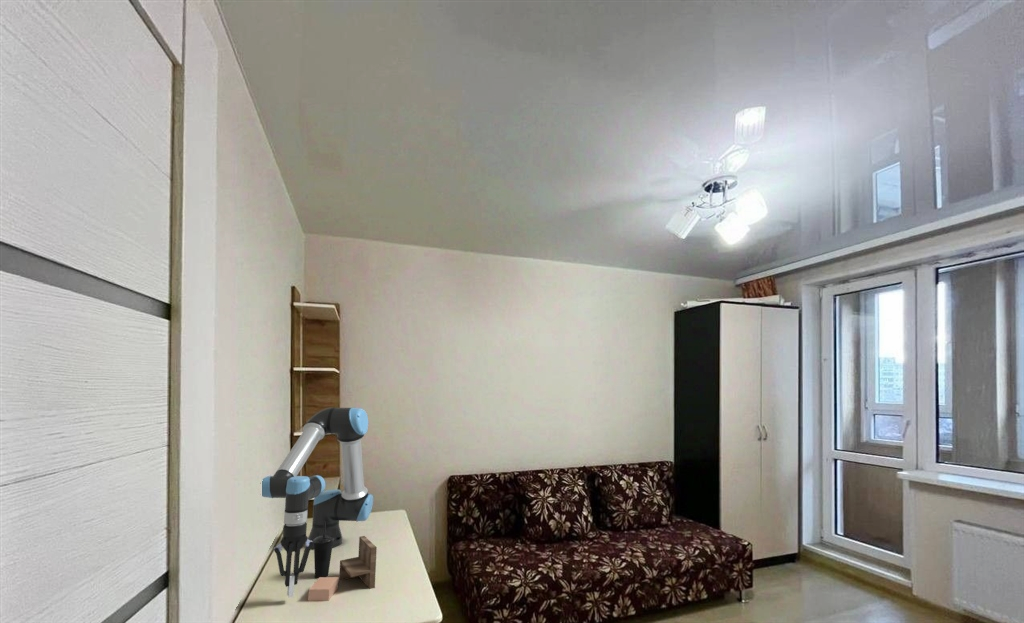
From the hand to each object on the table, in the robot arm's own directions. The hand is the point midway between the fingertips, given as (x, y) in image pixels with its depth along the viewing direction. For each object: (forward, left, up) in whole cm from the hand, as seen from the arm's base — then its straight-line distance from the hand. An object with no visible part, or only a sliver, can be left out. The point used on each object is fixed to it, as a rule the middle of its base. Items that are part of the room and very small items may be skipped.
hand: (290, 595), depth 163 cm
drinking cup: (-17, +14, -2) cm, 22 cm away
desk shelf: (-3, +23, -2) cm, 23 cm away
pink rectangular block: (0, +11, -3) cm, 11 cm away
